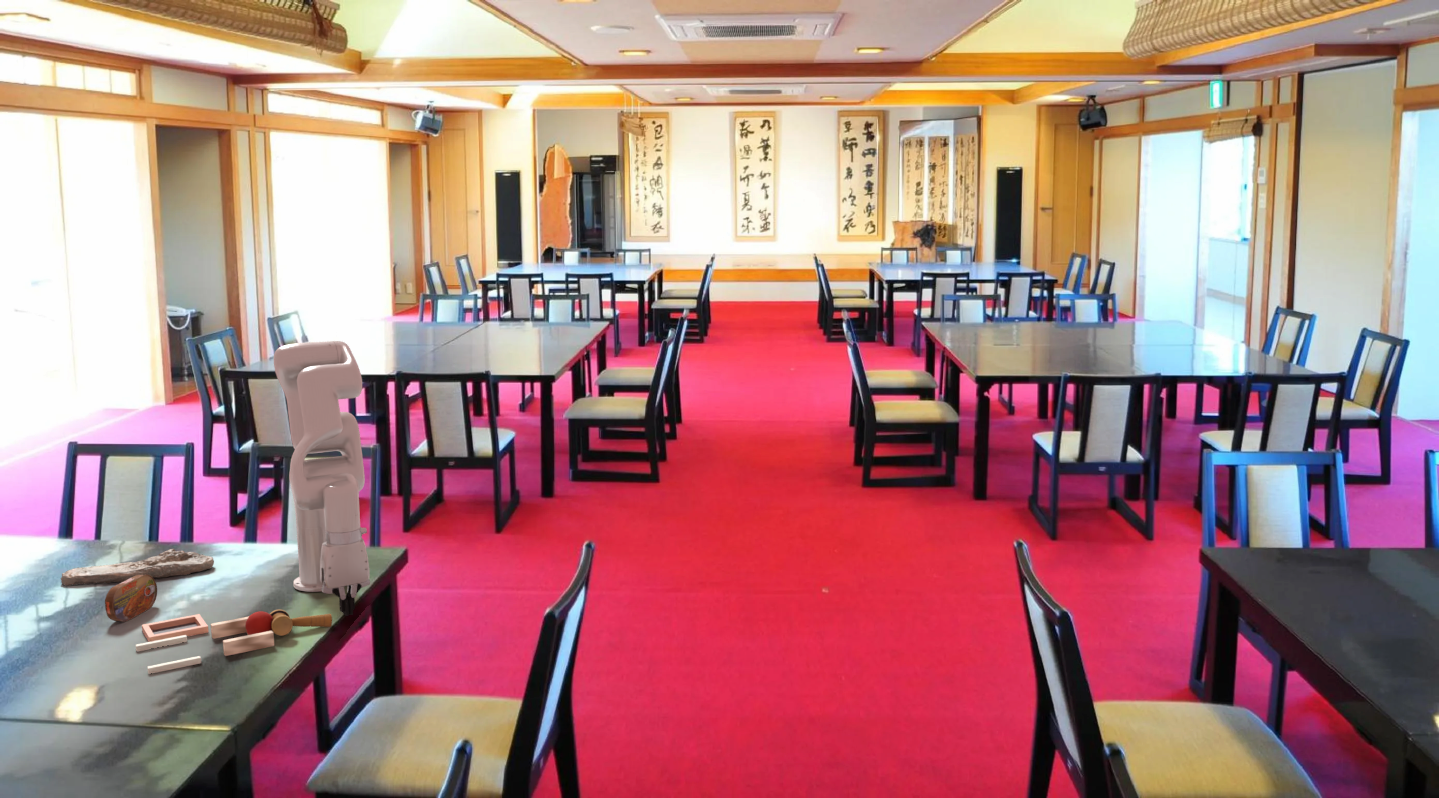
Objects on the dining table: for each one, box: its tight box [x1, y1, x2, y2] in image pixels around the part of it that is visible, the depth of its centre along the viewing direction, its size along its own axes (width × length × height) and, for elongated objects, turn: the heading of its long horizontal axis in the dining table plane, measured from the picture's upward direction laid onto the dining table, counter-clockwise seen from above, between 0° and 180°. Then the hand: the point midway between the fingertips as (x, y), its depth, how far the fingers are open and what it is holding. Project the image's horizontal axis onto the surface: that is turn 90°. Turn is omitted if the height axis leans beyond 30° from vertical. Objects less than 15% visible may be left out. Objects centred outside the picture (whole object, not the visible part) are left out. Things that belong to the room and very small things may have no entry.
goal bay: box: [135, 635, 202, 675], centre depth 253 cm, size 10×15×1 cm, turn 34°
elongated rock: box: [60, 548, 215, 587], centre depth 303 cm, size 35×5×10 cm
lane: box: [210, 615, 275, 657], centre depth 261 cm, size 10×13×3 cm
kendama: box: [245, 609, 333, 637], centre depth 266 cm, size 8×6×18 cm
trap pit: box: [141, 613, 209, 642], centre depth 266 cm, size 12×9×2 cm
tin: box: [104, 575, 158, 623], centre depth 276 cm, size 15×3×8 cm, turn 168°
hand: (347, 613), depth 274 cm, fingers closed
